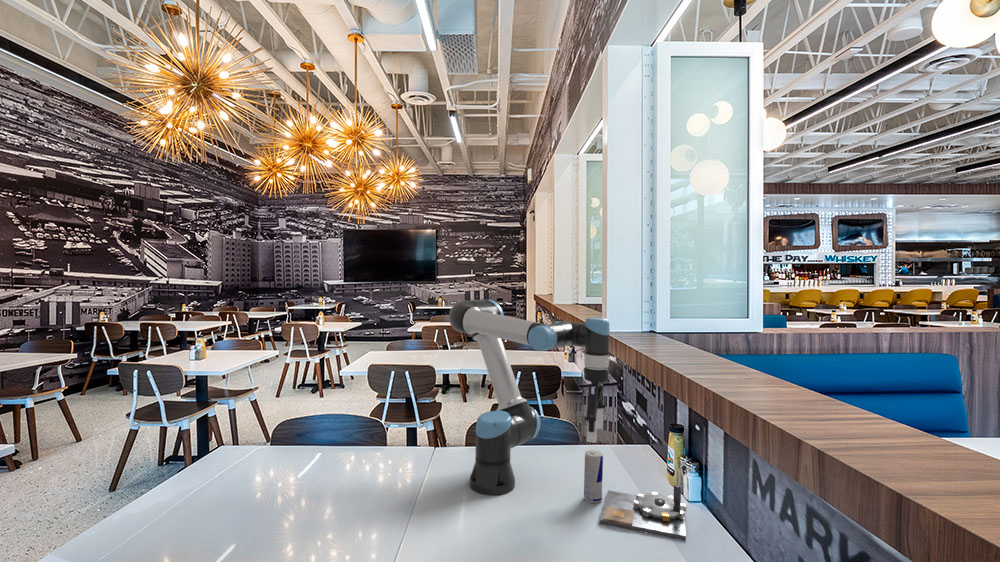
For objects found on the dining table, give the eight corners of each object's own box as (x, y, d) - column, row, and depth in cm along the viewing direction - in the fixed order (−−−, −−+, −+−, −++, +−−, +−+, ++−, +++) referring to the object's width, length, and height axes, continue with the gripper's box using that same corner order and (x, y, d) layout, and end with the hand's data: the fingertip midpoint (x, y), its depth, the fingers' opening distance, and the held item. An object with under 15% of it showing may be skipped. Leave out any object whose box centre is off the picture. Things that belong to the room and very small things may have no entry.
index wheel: (668, 526, 135) (669, 496, 135) (623, 506, 147) (624, 478, 146) (696, 510, 145) (697, 482, 145) (651, 492, 156) (652, 465, 156)
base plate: (599, 523, 139) (599, 519, 139) (607, 493, 158) (608, 490, 158) (685, 540, 131) (685, 536, 131) (683, 506, 150) (683, 503, 150)
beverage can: (601, 505, 150) (603, 456, 150) (583, 502, 151) (584, 455, 151) (601, 496, 155) (603, 450, 155) (584, 494, 157) (585, 448, 156)
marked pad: (603, 520, 138) (603, 517, 138) (606, 507, 146) (606, 505, 146) (632, 525, 136) (632, 523, 136) (634, 512, 143) (634, 510, 143)
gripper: (603, 376, 139) (601, 450, 140) (613, 361, 163) (611, 424, 163) (577, 374, 142) (575, 446, 142) (590, 360, 165) (589, 422, 166)
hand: (594, 435), depth 153 cm, fingers open, 13 cm apart
